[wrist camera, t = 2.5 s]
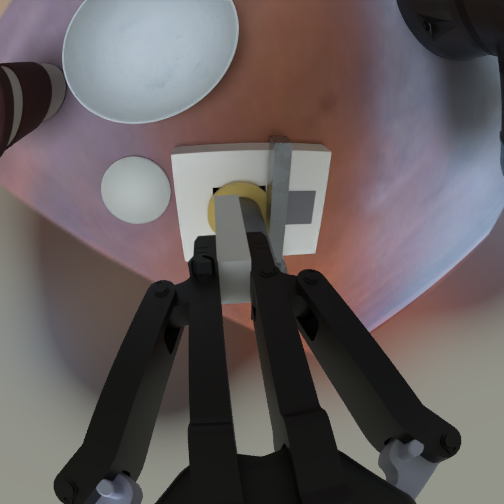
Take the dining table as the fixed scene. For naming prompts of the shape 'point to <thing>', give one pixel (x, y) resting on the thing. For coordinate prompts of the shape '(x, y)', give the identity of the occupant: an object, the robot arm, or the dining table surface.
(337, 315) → the robot arm
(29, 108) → the coffee cup
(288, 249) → the socket block
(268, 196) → the grey lever handle
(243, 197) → the plug
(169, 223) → the dining table surface
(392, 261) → the dining table surface
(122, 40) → the chinaware
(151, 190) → the mat
